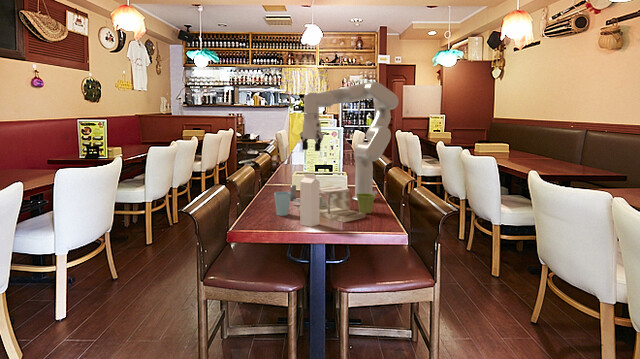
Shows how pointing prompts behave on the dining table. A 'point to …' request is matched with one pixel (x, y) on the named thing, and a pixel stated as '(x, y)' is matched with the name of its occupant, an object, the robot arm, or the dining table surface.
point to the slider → (293, 198)
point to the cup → (282, 203)
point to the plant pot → (365, 202)
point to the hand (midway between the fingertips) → (311, 150)
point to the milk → (309, 200)
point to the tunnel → (338, 205)
